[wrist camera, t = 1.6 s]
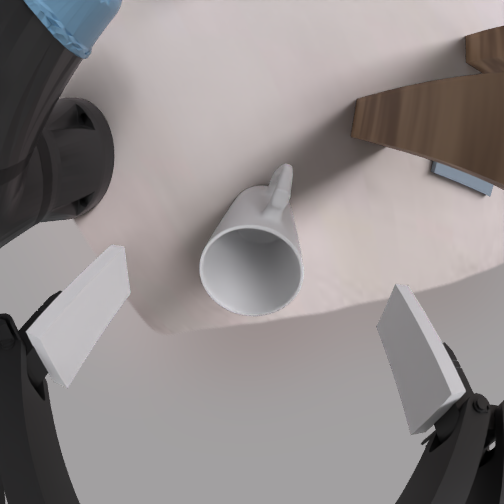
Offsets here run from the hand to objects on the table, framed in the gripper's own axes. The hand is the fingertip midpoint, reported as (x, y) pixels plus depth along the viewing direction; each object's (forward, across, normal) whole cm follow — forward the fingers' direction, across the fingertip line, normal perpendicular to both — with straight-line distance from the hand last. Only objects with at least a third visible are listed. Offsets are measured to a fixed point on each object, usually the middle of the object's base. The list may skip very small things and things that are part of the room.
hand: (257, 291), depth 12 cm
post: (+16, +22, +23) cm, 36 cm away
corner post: (+16, +9, +9) cm, 21 cm away
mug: (+17, 0, 0) cm, 17 cm away
